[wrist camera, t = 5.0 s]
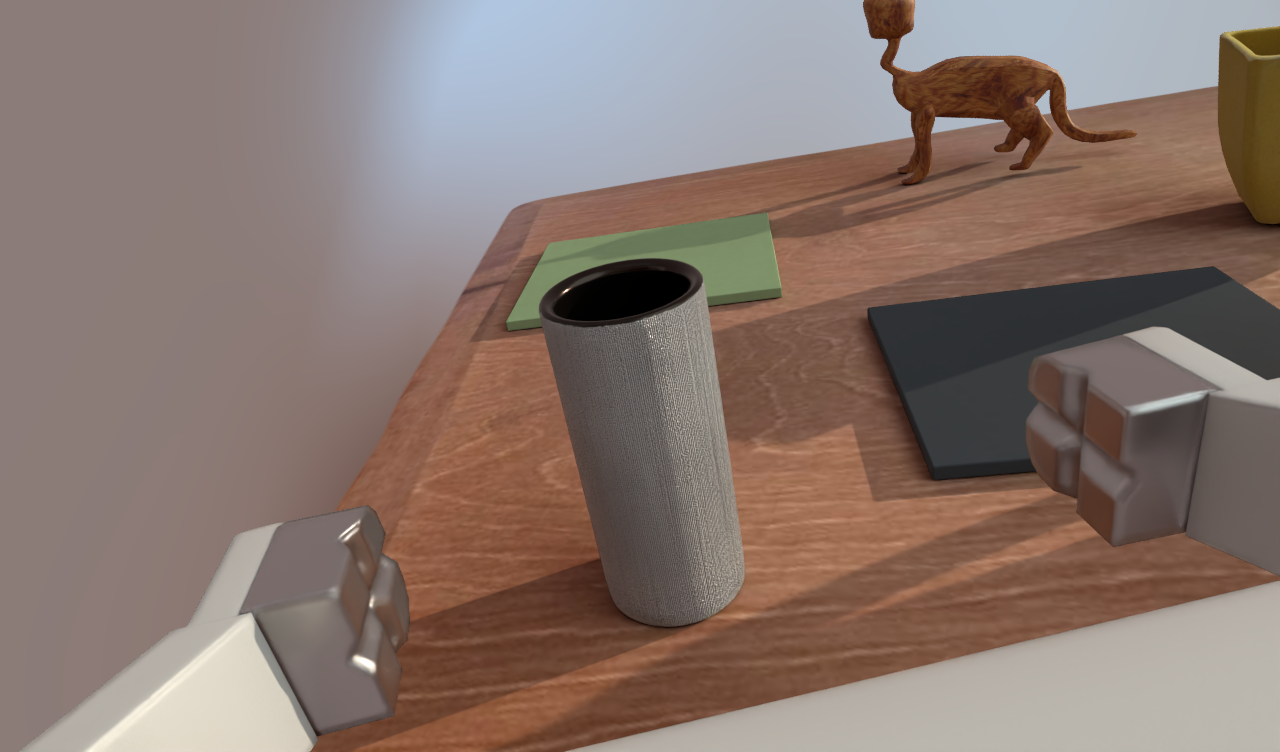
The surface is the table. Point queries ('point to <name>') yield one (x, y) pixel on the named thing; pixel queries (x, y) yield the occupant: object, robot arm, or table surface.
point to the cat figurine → (974, 93)
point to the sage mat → (717, 248)
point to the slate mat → (1045, 352)
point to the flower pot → (1252, 117)
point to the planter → (648, 435)
